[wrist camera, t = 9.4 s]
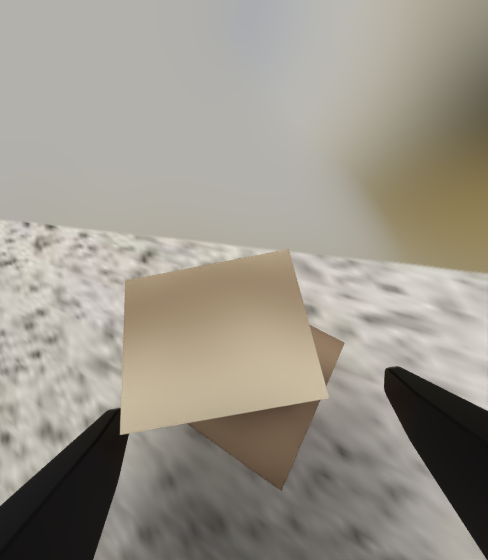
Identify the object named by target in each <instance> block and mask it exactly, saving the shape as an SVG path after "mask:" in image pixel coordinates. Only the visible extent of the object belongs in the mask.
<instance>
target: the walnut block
mask: <svg viewBox="0 0 488 560" xmlns="http://www.w3.org/2000/svg"><path fill="white" fill-rule="evenodd" d="M309 326H310V329H311V333H312V337H313V340H314V344H315V348H316V352H317V355H318V359H319V363H320V366H321V370H322V374H323V377H324V381H325V385H327V383H328V381H329V378H330V376H331V374H332V371H333V369H334V367H335V364H336V362H337V360H338V357H339V355H340V353H341V350H342V348H343V346H344V342H342V341H340V340H338V339H336V338H334V337H332V336H330V335H328V334H326V333H324V332H322V331H320V330H319V329H317V328H315V327H313V326H311V325H309ZM319 402H320V400H316V401H310V402H304V403H299V404H293V405H287V406H282V407H276V408H270V409H265V410H259V411H253V412H248V413H242V414H236V415H231V416H225V417H219V418H214V419H208V420H202V421H196V422H191V423H187V424H189V425H190V426H191V427H193V428H194V429H196V430H197V431H198V432H200V433H201V434H203V435H204V436H205V437H207V438H208V439H210V440H211V441H212V442H214V443H215V444H217V445H218V446H219V447H221V448H222V449H224V450H225V451H226V452H228V453H229V454H231V455H232V456H233V457H235V458H236V459H238V460H239V461H240V462H242V463H243V464H245V465H246V466H247V467H249V468H250V469H252V470H253V471H254V472H256V473H257V474H258V475H260V476H261V477H263V478H264V479H265V480H267V481H268V482H270V483H271V484H272V485H274V486H275V487H277V488H278V489H279V490H282V488H283V486H284V483H285V481H286V479H287V476H288V474H289V472H290V469H291V467H292V465H293V462H294V460H295V458H296V455H297V453H298V451H299V448H300V446H301V444H302V441H303V439H304V437H305V434H306V432H307V430H308V427H309V425H310V423H311V420H312V418H313V416H314V413H315V411H316V409H317V406H318V404H319Z"/></svg>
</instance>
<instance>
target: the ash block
mask: <svg viewBox="0 0 488 560" xmlns="http://www.w3.org/2000/svg"><path fill="white" fill-rule="evenodd" d="M327 398H329V396H328V392H327V388H326V385H325V381H324V377H323V374H322V370H321V366H320V363H319V359H318V355H317V352H316V348H315V344H314V340H313V337H312V333H311V329H310V326H309V322H308V318H307V315H306V311H305V307H304V304H303V300H302V296H301V293H300V289H299V285H298V282H297V278H296V274H295V271H294V267H293V263H292V260H291V256H290V252H289V249H287V250H282V251H276V252H271V253H266V254H261V255H256V256H251V257H245V258H240V259H235V260H230V261H225V262H220V263H215V264H209V265H204V266H199V267H194V268H189V269H184V270H178V271H173V272H168V273H163V274H158V275H153V276H147V277H142V278H137V279H132V280H127V281H125V308H124V336H123V364H122V392H121V420H120V435H123V434H128V433H134V432H140V431H145V430H151V429H157V428H162V427H168V426H174V425H179V424H185V423H191V422H196V421H202V420H208V419H214V418H219V417H225V416H231V415H236V414H242V413H248V412H253V411H259V410H265V409H270V408H276V407H282V406H287V405H293V404H299V403H304V402H310V401H316V400H321V399H327Z"/></svg>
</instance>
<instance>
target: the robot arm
mask: <svg viewBox="0 0 488 560" xmlns="http://www.w3.org/2000/svg"><path fill="white" fill-rule="evenodd" d="M384 390H385V393H386V395H387V397H388V399H389V401H390V403H391V405H392V407H393V409H394V411H395V413H396V415H397V417H398V419H399V421H400V422H401V424H402V426H403V428H404V430H405V432H406V434H407V436H408V438H409V439H410V441H411V443H412V444H413V446H414V448H415V449H416V451H417V452H418V454H419V455H420V457H421V458H422V460H423V462H424V463H425V465H426V466H427V468H428V469H429V471H430V472H431V474H432V475H433V477H434V479H435V480H436V482H437V483H438V485H439V486H440V488H441V489H442V491H443V493H444V494H445V496H446V497H447V499H448V500H449V502H450V503H451V505H452V506H453V508H454V510H455V511H456V513H457V514H458V516H459V517H460V519H461V520H462V522H463V523H464V525H465V527H466V528H467V530H468V531H469V533H470V534H471V536H472V537H473V539H474V541H475V542H476V544H477V545H478V547H479V548H480V550H481V551H482V553H483V554H484V556H485V558H486V559H487V560H488V411H487V410H485V409H483V408H481V407H479V406H477V405H475V404H473V403H471V402H469V401H467V400H465V399H463V398H461V397H459V396H457V395H455V394H453V393H451V392H449V391H447V390H445V389H443V388H441V387H439V386H437V385H435V384H433V383H431V382H429V381H427V380H425V379H423V378H421V377H419V376H417V375H415V374H413V373H411V372H409V371H407V370H405V369H403V368H401V367H398V366H395V367H389V368H386V369H385V377H384ZM120 420H121V408H116V409H110V410H108V411H106V412H105V413H104V414H103V415H102V416H101V417H100V418H98V419H97V420H96V421H95V422H94V423H93V424H92V425H91V426H89V427H88V428H87V429H86V430H85V431H84V432H83V433H82V434H80V435H79V436H78V437H77V438H76V439H75V440H74V441H73V442H72V443H70V444H69V445H68V446H67V447H66V448H65V449H64V450H63V451H61V452H60V453H59V454H58V455H57V456H56V457H55V458H54V459H52V460H51V461H50V462H49V463H48V464H47V465H46V466H45V467H43V468H42V469H41V470H40V471H39V472H38V473H37V474H36V475H34V476H33V477H32V478H31V479H30V480H29V481H28V482H27V483H25V484H24V485H23V486H22V487H21V488H20V489H19V490H18V491H16V492H15V493H14V494H13V495H12V496H11V497H10V498H9V499H7V500H6V501H5V502H4V503H3V504H2V505H1V506H0V560H93V558H94V555H95V552H96V549H97V546H98V543H99V540H100V537H101V534H102V530H103V527H104V524H105V521H106V518H107V515H108V512H109V509H110V506H111V503H112V499H113V496H114V493H115V490H116V487H117V483H118V480H119V476H120V471H121V467H122V462H123V458H124V453H125V449H126V444H127V440H128V436H129V433H128V434H123V435H120Z"/></svg>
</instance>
